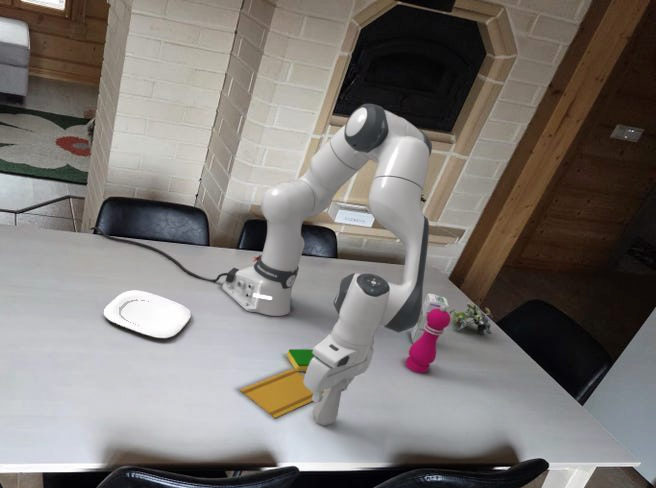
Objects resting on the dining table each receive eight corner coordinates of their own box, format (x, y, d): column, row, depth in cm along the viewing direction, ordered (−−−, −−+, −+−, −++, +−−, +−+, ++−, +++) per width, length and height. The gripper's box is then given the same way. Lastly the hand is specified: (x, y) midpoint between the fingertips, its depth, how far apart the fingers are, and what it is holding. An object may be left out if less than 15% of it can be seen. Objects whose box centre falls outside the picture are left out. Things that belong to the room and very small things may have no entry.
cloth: (239, 390, 157) (239, 389, 157) (292, 369, 170) (292, 368, 169) (275, 418, 151) (275, 417, 150) (327, 394, 163) (327, 393, 163)
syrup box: (430, 347, 194) (450, 305, 186) (411, 342, 194) (430, 300, 186) (428, 338, 198) (447, 297, 190) (409, 333, 199) (427, 292, 191)
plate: (94, 320, 172) (94, 315, 171) (129, 290, 190) (129, 285, 189) (168, 348, 168) (169, 342, 167) (196, 314, 185) (198, 309, 184)
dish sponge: (286, 356, 175) (288, 348, 173) (331, 356, 179) (334, 349, 177) (296, 371, 169) (298, 364, 168) (342, 371, 173) (345, 364, 172)
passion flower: (470, 346, 211) (502, 333, 201) (446, 341, 206) (478, 327, 196) (463, 315, 215) (494, 300, 205) (440, 309, 210) (470, 294, 200)
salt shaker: (307, 411, 155) (323, 367, 148) (329, 413, 156) (347, 369, 149) (313, 427, 150) (331, 382, 143) (337, 429, 151) (355, 385, 144)
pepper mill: (428, 364, 185) (457, 304, 174) (428, 377, 179) (458, 315, 168) (403, 356, 186) (431, 296, 175) (403, 368, 180) (431, 307, 169)
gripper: (364, 328, 150) (345, 376, 157) (308, 348, 137) (290, 399, 145) (386, 342, 146) (365, 390, 154) (331, 364, 134) (311, 415, 141)
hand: (328, 395), depth 149 cm, fingers open, 8 cm apart
